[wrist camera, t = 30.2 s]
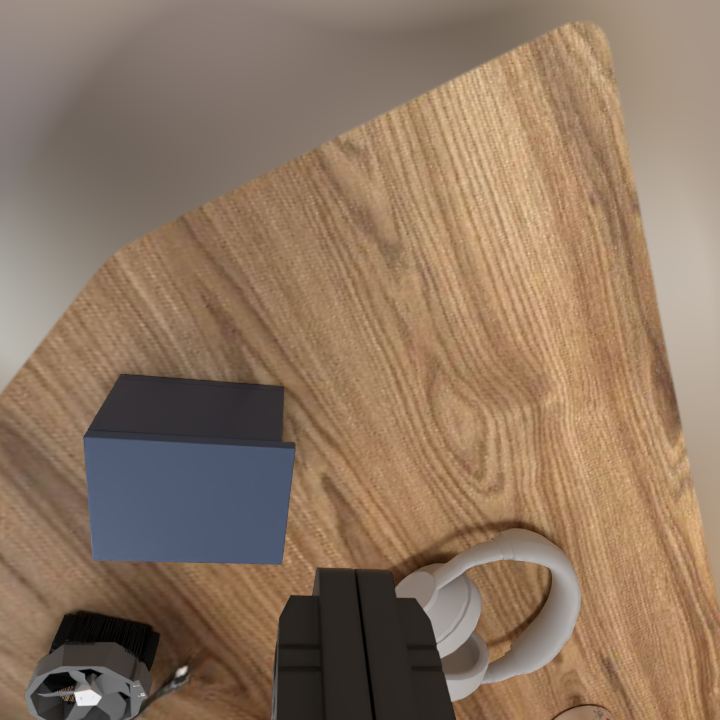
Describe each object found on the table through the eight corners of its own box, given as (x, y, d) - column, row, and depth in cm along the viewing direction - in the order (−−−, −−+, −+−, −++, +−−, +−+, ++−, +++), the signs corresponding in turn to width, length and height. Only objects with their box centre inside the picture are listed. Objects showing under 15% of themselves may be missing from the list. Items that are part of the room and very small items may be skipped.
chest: (284, 386, 45) (282, 441, 38) (273, 490, 50) (270, 556, 43) (120, 373, 43) (87, 429, 36) (125, 483, 48) (96, 551, 41)
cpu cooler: (12, 726, 51) (37, 656, 48) (37, 669, 57) (62, 601, 53) (126, 744, 54) (158, 679, 51) (140, 687, 59) (170, 625, 56)
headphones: (392, 673, 62) (557, 612, 64) (416, 745, 55) (599, 673, 57) (360, 554, 53) (551, 489, 56) (383, 621, 46) (599, 544, 49)
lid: (295, 441, 39) (295, 449, 38) (282, 556, 43) (282, 565, 42) (87, 429, 36) (82, 436, 36) (96, 551, 41) (92, 560, 40)
